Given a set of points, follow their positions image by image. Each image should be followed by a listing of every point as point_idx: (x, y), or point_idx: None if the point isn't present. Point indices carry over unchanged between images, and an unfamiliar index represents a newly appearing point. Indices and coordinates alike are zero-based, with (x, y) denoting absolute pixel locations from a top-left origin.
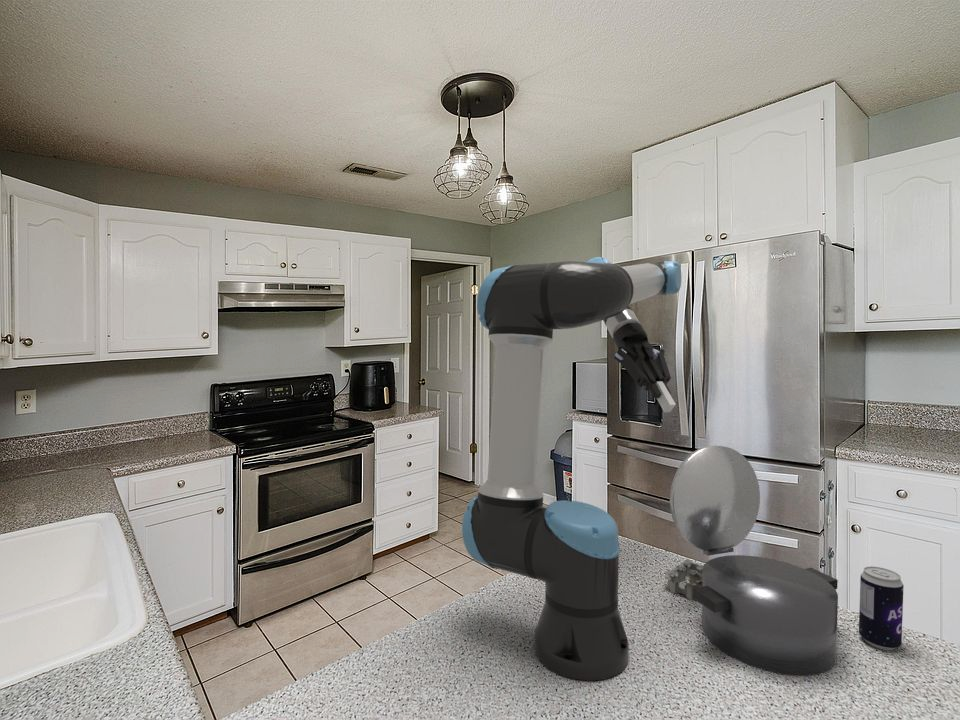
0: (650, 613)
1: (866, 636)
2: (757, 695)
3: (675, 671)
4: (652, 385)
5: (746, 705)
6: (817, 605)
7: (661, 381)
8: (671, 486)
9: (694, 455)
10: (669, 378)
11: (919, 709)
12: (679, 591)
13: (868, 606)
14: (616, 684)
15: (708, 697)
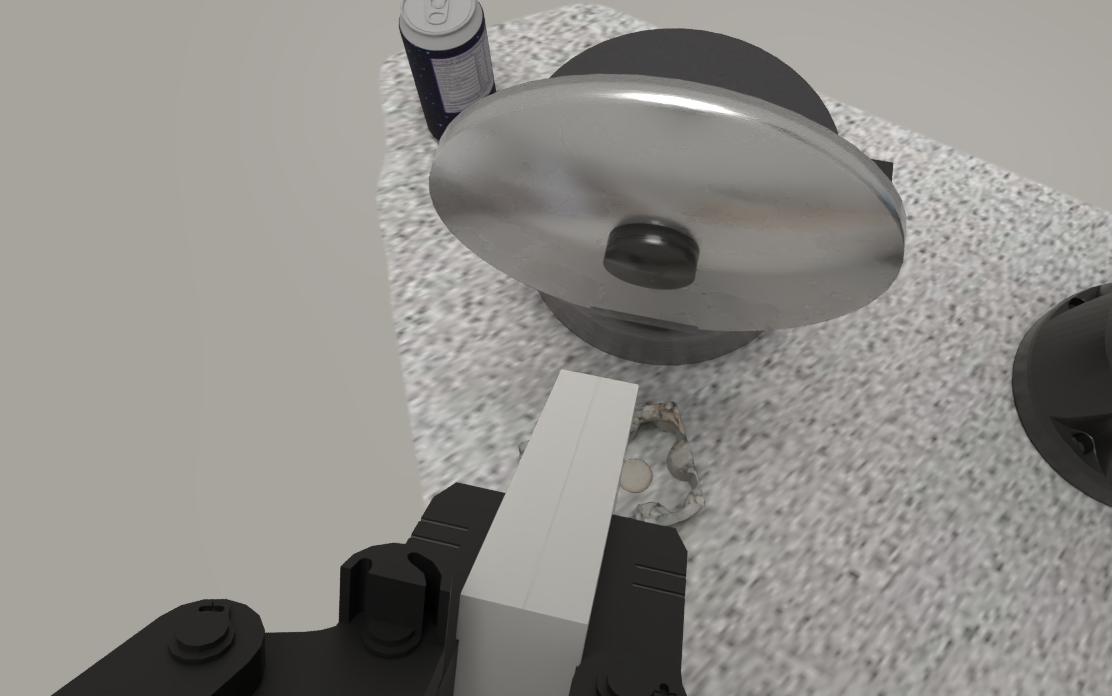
0: (842, 438)
1: None
2: (855, 144)
3: (956, 252)
4: (673, 657)
5: (898, 138)
6: (690, 42)
7: (488, 596)
8: (903, 255)
9: (826, 130)
10: (224, 606)
11: (630, 19)
12: (674, 475)
13: (489, 68)
14: (1108, 280)
15: (949, 178)
